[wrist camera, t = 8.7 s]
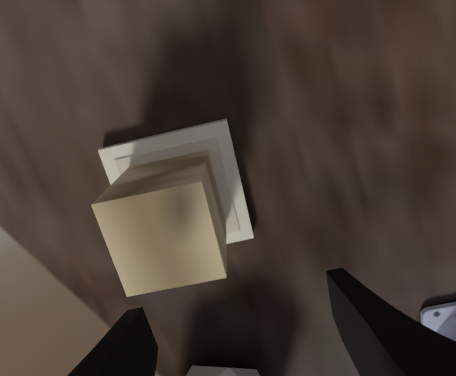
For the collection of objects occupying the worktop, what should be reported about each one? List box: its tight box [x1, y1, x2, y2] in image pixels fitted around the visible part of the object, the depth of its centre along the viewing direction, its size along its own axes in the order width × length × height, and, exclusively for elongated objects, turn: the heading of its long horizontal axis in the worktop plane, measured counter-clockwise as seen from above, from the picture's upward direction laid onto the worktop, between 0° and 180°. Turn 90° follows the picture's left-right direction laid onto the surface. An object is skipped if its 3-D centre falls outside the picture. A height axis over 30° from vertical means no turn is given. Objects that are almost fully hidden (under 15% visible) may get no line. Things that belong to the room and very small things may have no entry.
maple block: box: [91, 150, 227, 297], centre depth 18 cm, size 5×5×6 cm
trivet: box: [98, 118, 254, 244], centre depth 21 cm, size 8×8×1 cm
